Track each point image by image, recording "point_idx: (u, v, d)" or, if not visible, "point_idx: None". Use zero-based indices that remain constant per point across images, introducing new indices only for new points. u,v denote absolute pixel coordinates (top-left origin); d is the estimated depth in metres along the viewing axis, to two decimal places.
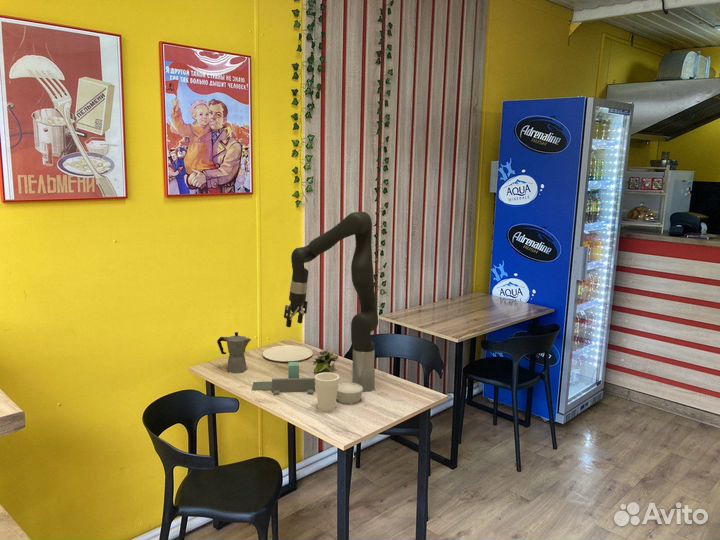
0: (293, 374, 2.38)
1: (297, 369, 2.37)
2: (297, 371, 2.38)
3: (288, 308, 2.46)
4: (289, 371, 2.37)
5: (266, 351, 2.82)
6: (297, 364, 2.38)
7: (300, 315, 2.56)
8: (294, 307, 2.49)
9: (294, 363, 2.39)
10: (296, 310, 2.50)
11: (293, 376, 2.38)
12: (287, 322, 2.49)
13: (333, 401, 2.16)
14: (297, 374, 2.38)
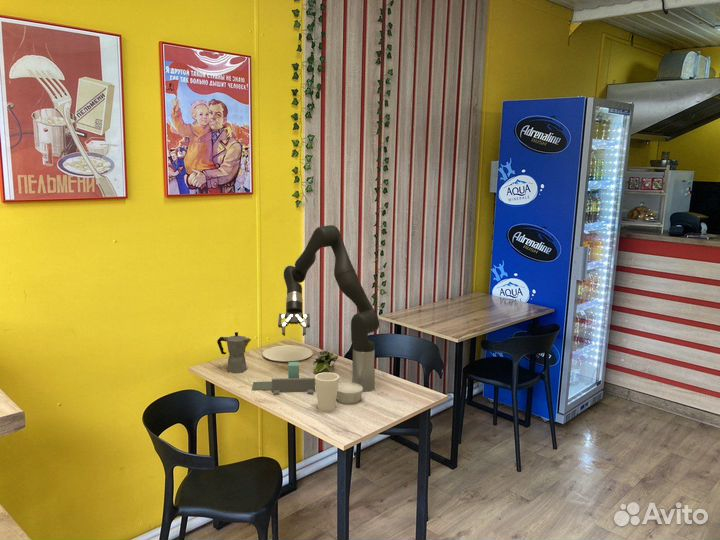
0: (293, 374, 2.38)
1: (297, 369, 2.37)
2: (297, 371, 2.38)
3: None
4: (289, 371, 2.37)
5: (266, 351, 2.82)
6: (297, 364, 2.38)
7: (303, 327, 2.51)
8: (287, 315, 2.53)
9: (294, 363, 2.39)
10: (289, 317, 2.52)
11: (293, 376, 2.38)
12: (282, 330, 2.50)
13: (333, 401, 2.16)
14: (297, 374, 2.38)
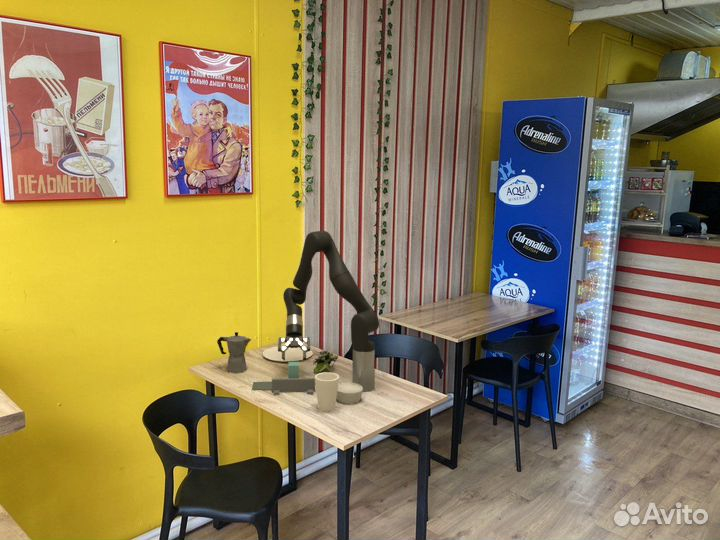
0: (293, 374, 2.38)
1: (297, 369, 2.37)
2: (297, 371, 2.38)
3: None
4: (289, 371, 2.37)
5: (266, 351, 2.82)
6: (297, 364, 2.38)
7: (303, 351, 2.47)
8: (287, 339, 2.48)
9: (294, 363, 2.39)
10: (289, 341, 2.47)
11: (293, 376, 2.38)
12: None
13: (333, 401, 2.16)
14: (297, 374, 2.38)
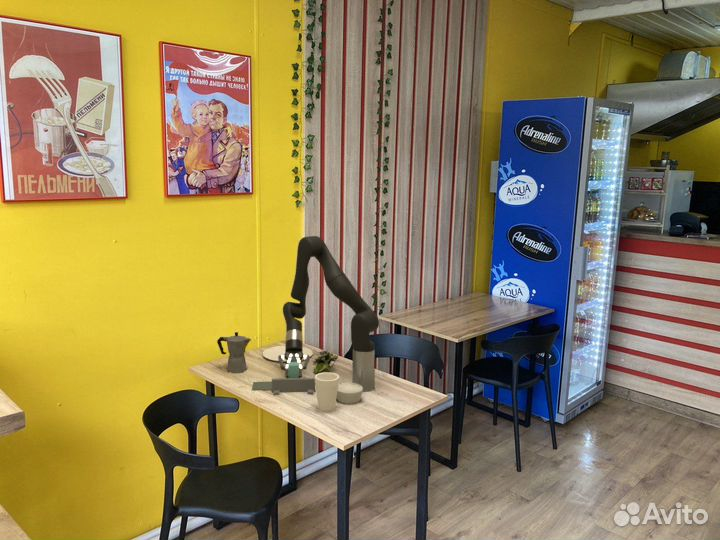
0: (292, 374, 2.38)
1: (297, 369, 2.37)
2: (297, 371, 2.38)
3: (278, 358, 2.42)
4: (289, 371, 2.37)
5: (266, 351, 2.82)
6: (297, 364, 2.38)
7: None
8: (286, 356, 2.42)
9: (294, 363, 2.39)
10: (290, 358, 2.42)
11: (293, 376, 2.38)
12: (285, 373, 2.39)
13: (333, 401, 2.16)
14: (297, 374, 2.38)
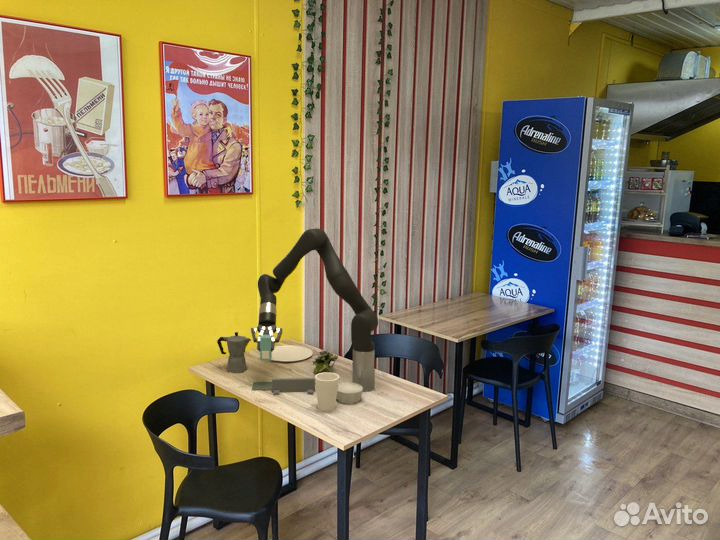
0: (264, 346, 2.35)
1: (269, 341, 2.35)
2: (269, 343, 2.35)
3: (251, 330, 2.39)
4: (261, 343, 2.34)
5: None
6: (269, 336, 2.35)
7: None
8: (259, 329, 2.40)
9: (266, 336, 2.36)
10: (262, 330, 2.39)
11: (265, 349, 2.35)
12: (257, 345, 2.36)
13: (333, 401, 2.16)
14: (269, 347, 2.35)
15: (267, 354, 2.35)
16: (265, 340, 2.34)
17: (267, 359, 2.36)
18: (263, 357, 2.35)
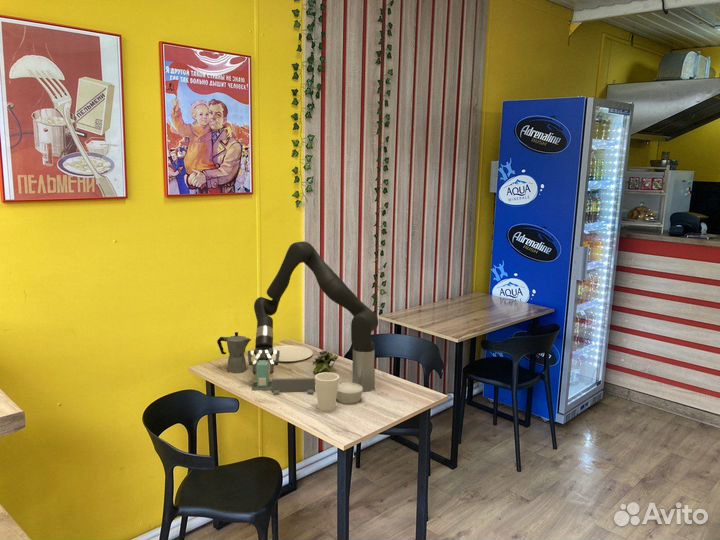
0: (261, 373, 2.36)
1: (266, 368, 2.36)
2: (266, 370, 2.36)
3: None
4: (257, 370, 2.36)
5: None
6: (266, 363, 2.37)
7: None
8: (256, 352, 2.41)
9: (263, 363, 2.38)
10: (259, 354, 2.40)
11: (262, 375, 2.36)
12: None
13: (333, 401, 2.16)
14: (266, 373, 2.36)
15: (264, 381, 2.36)
16: (262, 367, 2.36)
17: (264, 386, 2.37)
18: (260, 384, 2.37)
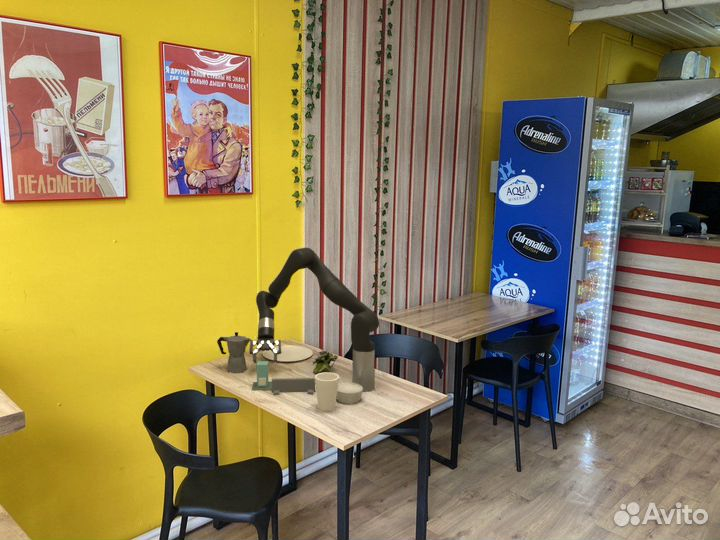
0: (261, 373, 2.36)
1: (266, 368, 2.36)
2: (266, 370, 2.36)
3: (250, 342, 2.54)
4: (257, 370, 2.36)
5: (266, 351, 2.82)
6: (266, 363, 2.37)
7: (274, 354, 2.52)
8: (258, 342, 2.54)
9: (263, 363, 2.38)
10: (260, 344, 2.52)
11: (262, 375, 2.36)
12: (253, 357, 2.50)
13: (333, 401, 2.16)
14: (266, 373, 2.36)
15: (264, 381, 2.36)
16: (262, 367, 2.36)
17: (264, 386, 2.37)
18: (260, 384, 2.37)
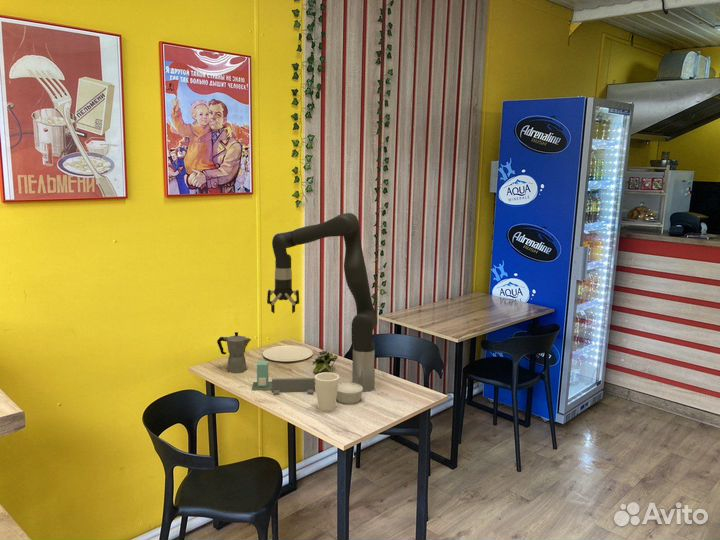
0: (261, 373, 2.36)
1: (266, 368, 2.36)
2: (266, 370, 2.36)
3: None
4: (257, 370, 2.36)
5: (266, 351, 2.82)
6: (266, 363, 2.37)
7: (292, 304, 2.51)
8: (276, 293, 2.49)
9: (263, 363, 2.38)
10: (278, 296, 2.48)
11: (262, 375, 2.36)
12: (271, 307, 2.51)
13: (333, 401, 2.16)
14: (266, 373, 2.36)
15: (264, 381, 2.36)
16: (262, 367, 2.36)
17: (264, 386, 2.37)
18: (260, 384, 2.37)
